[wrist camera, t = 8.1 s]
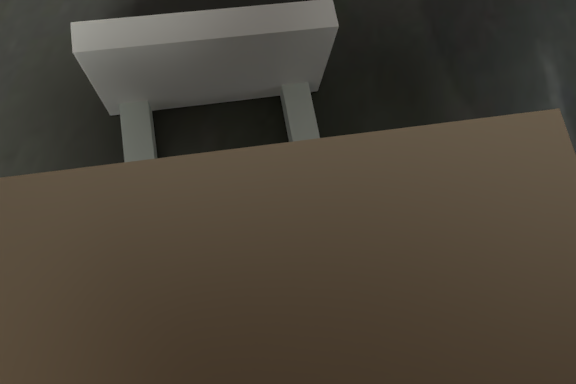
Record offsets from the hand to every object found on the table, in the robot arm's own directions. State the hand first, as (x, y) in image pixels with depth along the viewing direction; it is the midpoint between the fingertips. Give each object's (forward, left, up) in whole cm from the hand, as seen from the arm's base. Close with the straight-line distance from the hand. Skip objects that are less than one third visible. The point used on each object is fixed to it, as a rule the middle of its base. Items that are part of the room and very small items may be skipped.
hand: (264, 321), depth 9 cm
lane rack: (+6, -4, -10) cm, 12 cm away
